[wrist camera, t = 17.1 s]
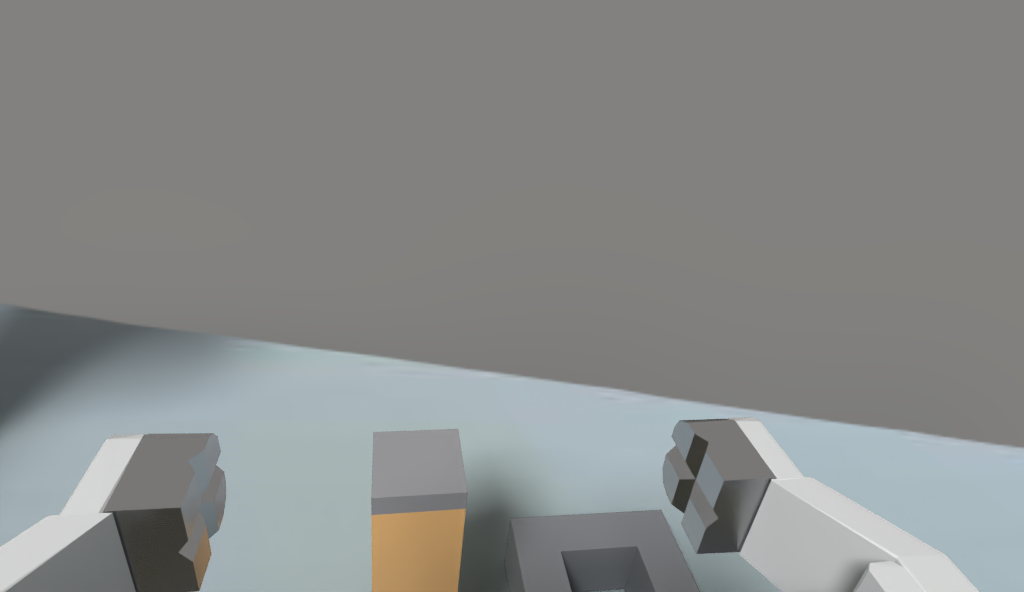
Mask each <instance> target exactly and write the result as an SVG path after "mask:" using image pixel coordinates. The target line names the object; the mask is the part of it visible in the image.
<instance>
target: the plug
mask: <svg viewBox="0 0 1024 592" xmlns="http://www.w3.org/2000/svg"><path fill="white" fill-rule="evenodd" d="M467 493H468V492H467V485H466V479H465V472H464V465H463V458H462V451H461V445H460V438H459V431H458V429H445V430H419V431H394V432H374V434H373V465H372V497H371V504H372V592H458V583H459V573H460V563H461V553H462V543H463V533H464V523H465V513H466V503H467Z"/></svg>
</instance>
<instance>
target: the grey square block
mask: <svg viewBox="0 0 1024 592" xmlns="http://www.w3.org/2000/svg"><path fill="white" fill-rule="evenodd" d="M504 563H505V569H506V575H507V580H508V586H509V592H588V591H600V590H612V589H625V592H700V591H699V589H698V587H697V585H696V583H695V580H694V578H693V576H692V574H691V572H690V570H689V568H688V566H687V563H686V561H685V559H684V557H683V555H682V553H681V551H680V549H679V547H678V544H677V542H676V540H675V538H674V536H673V534H672V532H671V530H670V528H669V525H668V523H667V521H666V519H665V517H664V515H663V513H662V511H661V510H649V511H632V512H615V513H597V514H580V515H562V516H545V517H527V518H511V520H510V526H509V533H508V539H507V546H506V553H505V559H504Z"/></svg>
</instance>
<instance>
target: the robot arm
mask: <svg viewBox="0 0 1024 592" xmlns="http://www.w3.org/2000/svg"><path fill="white" fill-rule="evenodd" d="M672 438H673V440H674V442H675V444H676V446H675V447H674V448H673V449H672V450H670V451H669V452H668V453H667V454H666V457H665V461H664V465H663V483H664V487H665V491H666V494H667V496H668V498H669V500H670V502H671V504H672V505H673V506H675V507H676V508H677V509H679V510H680V511H681V512H683V513H684V515H683V519H682V523H681V524H682V526H683V528H684V530H685V532H686V534H687V536H688V538H689V540H690V542H691V544H692V546H693V548H694V550H695V552H696V554H705V553H727V552H740V555H741V556H742V557H743V558H744V559H745V560H746V561H748V562H749V563H750V564H751V565H752V566H753V567H754V568H756V569H757V570H758V571H759V572H760V573H761V574H762V575H764V576H765V577H766V578H767V579H768V580H769V581H770V582H772V583H773V584H774V585H775V586H776V587H777V588H778V589H779V590H781V591H782V592H979V591H978V590H977V589H976V588H975V587H974V586H973V584H972V583H971V582H970V581H969V580H968V579H967V578H966V577H965V576H964V575H963V574H962V572H961V571H960V570H959V569H958V568H957V567H956V566H955V565H954V564H953V563H952V562H951V560H950V559H949V558H948V557H947V556H946V555H945V554H943V553H941V552H939V551H938V550H936V549H934V548H933V547H931V546H929V545H927V544H926V543H924V542H922V541H920V540H919V539H917V538H915V537H914V536H912V535H910V534H908V533H907V532H905V531H903V530H902V529H900V528H898V527H896V526H895V525H893V524H891V523H889V522H888V521H886V520H884V519H883V518H881V517H879V516H877V515H876V514H874V513H872V512H870V511H869V510H867V509H865V508H864V507H862V506H860V505H858V504H857V503H855V502H853V501H851V500H850V499H848V498H846V497H845V496H843V495H841V494H839V493H838V492H836V491H834V490H833V489H831V488H829V487H827V486H826V485H824V484H822V483H820V482H819V481H817V480H815V479H814V478H804V477H803V475H802V474H801V473H800V471H799V470H798V469H797V468H796V466H795V465H794V464H793V463H792V461H791V460H790V459H789V458H788V456H787V455H786V454H785V452H784V451H783V450H782V449H781V447H780V446H779V445H778V444H777V442H776V441H775V440H774V438H773V437H772V436H771V435H770V433H769V432H768V431H767V430H766V428H765V427H764V426H763V425H762V423H761V422H760V421H759V420H757V419H755V418H754V417H744V418H728V419H705V420H680V421H679V422H678V423H677V424H676V426H675V427H674V431H673V434H672ZM220 452H221V451H220V446H219V441H218V436H216V435H215V434H213V433H203V434H148V435H113V436H111V437H110V438H108V439H107V440H106V441H105V442H104V443H103V445H102V447H101V448H100V450H99V451H98V453H97V455H96V456H95V458H94V460H93V461H92V463H91V464H90V466H89V468H88V469H87V471H86V472H85V474H84V476H83V477H82V479H81V481H80V482H79V484H78V485H77V487H76V489H75V490H74V492H73V493H72V495H71V497H70V498H69V500H68V502H67V503H66V505H65V506H64V508H63V510H62V511H61V513H60V514H59V515H54V516H47V517H45V518H44V519H42V520H41V521H39V522H38V523H36V524H35V525H33V526H32V527H30V528H29V529H27V530H25V531H24V532H22V533H21V534H19V535H18V536H16V537H15V538H13V539H12V540H10V541H9V542H7V543H6V544H4V545H2V546H1V547H0V592H195V591H199V590H200V587H201V584H202V581H203V578H204V575H205V572H206V569H207V566H208V563H209V560H210V556H211V549H210V543H209V538H210V537H211V536H213V535H214V534H215V533H216V532H217V531H218V530H219V528H220V525H221V521H222V518H223V514H224V507H225V500H226V481H225V475H224V471H222V470H221V469H220V468H219V467H218V466H216V464H217V461H218V458H219V455H220Z"/></svg>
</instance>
